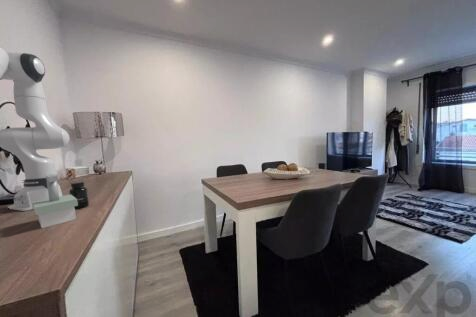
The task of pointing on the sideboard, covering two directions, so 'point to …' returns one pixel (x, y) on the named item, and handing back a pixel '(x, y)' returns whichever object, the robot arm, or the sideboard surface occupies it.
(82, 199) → the supplement bottle
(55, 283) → the sideboard surface
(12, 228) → the sideboard surface
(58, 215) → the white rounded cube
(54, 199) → the t-shaped pedestal stand
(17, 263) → the sideboard surface
